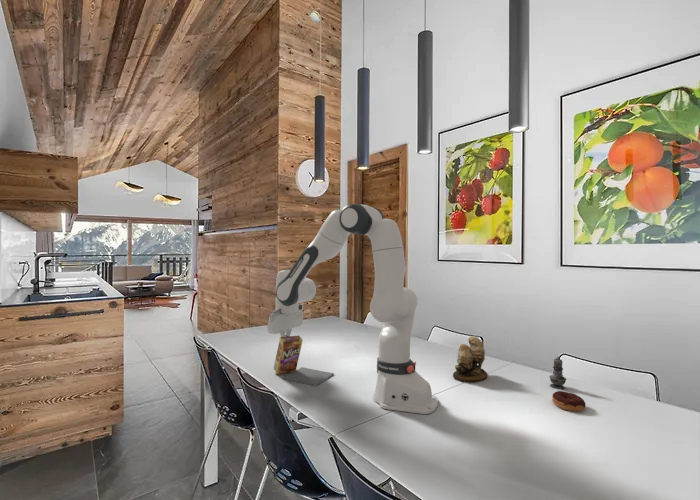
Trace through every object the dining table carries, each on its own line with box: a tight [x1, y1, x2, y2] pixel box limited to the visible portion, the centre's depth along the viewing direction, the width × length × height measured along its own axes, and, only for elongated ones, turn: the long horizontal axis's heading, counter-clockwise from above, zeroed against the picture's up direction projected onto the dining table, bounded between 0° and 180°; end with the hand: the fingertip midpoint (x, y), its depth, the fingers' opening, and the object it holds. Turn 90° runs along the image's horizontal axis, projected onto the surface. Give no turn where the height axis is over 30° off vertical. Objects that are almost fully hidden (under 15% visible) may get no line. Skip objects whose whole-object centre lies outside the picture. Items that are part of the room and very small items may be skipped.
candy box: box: [273, 335, 303, 374], centre depth 153 cm, size 9×4×15 cm, turn 124°
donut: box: [551, 390, 586, 413], centre depth 125 cm, size 10×10×4 cm
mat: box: [282, 367, 335, 387], centre depth 150 cm, size 16×14×1 cm
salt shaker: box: [548, 356, 567, 391], centre depth 143 cm, size 6×6×12 cm
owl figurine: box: [452, 335, 488, 384], centre depth 153 cm, size 18×12×17 cm, turn 132°
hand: (285, 340), depth 154 cm, fingers closed
